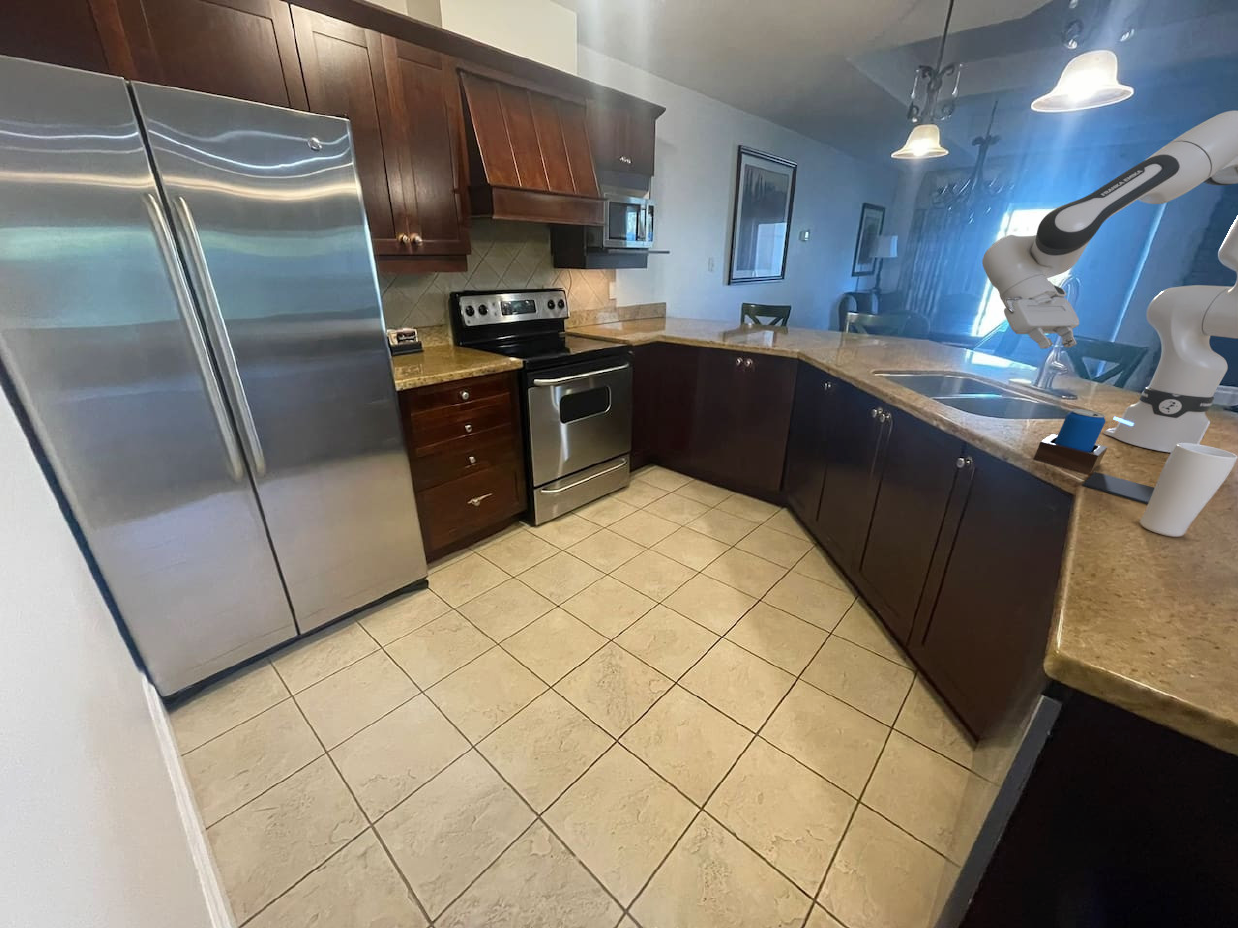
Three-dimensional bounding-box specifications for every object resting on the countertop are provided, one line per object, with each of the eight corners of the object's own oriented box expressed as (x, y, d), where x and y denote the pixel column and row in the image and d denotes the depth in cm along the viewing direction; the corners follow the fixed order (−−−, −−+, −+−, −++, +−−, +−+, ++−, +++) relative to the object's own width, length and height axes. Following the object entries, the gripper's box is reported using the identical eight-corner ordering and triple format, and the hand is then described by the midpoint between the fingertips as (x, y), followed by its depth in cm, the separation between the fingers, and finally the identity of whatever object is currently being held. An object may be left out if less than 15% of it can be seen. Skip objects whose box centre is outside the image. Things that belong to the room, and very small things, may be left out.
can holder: (1044, 450, 116) (1052, 433, 114) (1099, 464, 109) (1107, 446, 107) (1032, 459, 111) (1040, 441, 109) (1089, 474, 103) (1098, 455, 102)
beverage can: (1091, 469, 106) (1116, 418, 102) (1059, 465, 107) (1081, 415, 103) (1072, 458, 112) (1094, 410, 107) (1041, 455, 113) (1062, 407, 109)
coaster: (1093, 473, 104) (1094, 471, 104) (1165, 492, 96) (1166, 490, 96) (1082, 485, 98) (1083, 483, 97) (1157, 507, 90) (1159, 505, 90)
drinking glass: (1124, 523, 83) (1167, 444, 77) (1143, 517, 86) (1186, 440, 80) (1177, 543, 77) (1228, 460, 71) (1196, 536, 80) (1247, 455, 74)
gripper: (1015, 287, 106) (1048, 339, 101) (1068, 289, 113) (1100, 337, 109) (988, 306, 111) (1017, 356, 107) (1039, 307, 119) (1069, 353, 114)
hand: (1059, 346), depth 108 cm, fingers open, 8 cm apart
